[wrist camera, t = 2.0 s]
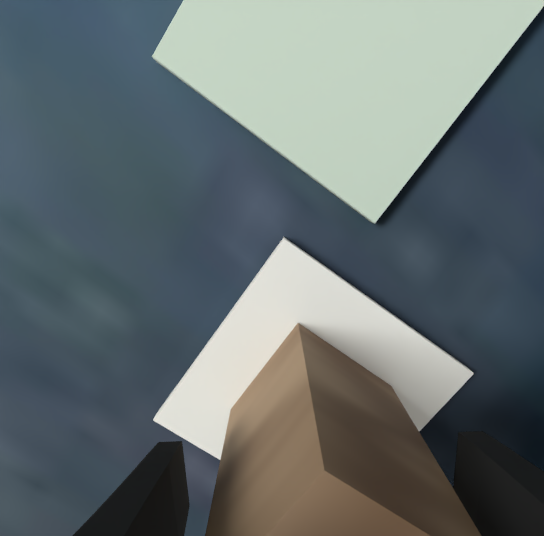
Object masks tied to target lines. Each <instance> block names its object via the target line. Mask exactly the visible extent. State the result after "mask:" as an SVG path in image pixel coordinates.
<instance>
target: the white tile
mask: <svg viewBox="0 0 544 536" xmlns="http://www.w3.org/2000/svg"><path fill="white" fill-rule="evenodd" d="M297 323H299V324H301V325H302V326H304V327H305V328H307V329H308V330H310V331H311V332H313V333H314V334H315V335H317V336H318V337H320V338H321V339H323V340H324V341H326V342H327V343H329V344H330V345H332V346H333V347H335V348H336V349H338V350H339V351H341V352H342V353H344V354H345V355H347V356H348V357H349V358H351V359H352V360H354V361H355V362H357V363H358V364H360V365H361V366H363V367H364V368H366V369H367V370H369V371H370V372H372V373H373V374H375V375H376V376H378V377H379V378H381V379H382V380H383V381H385V382H386V383H388V384H389V385H391V386H392V388H393V389H394V391H395V393H396V394H397V396H398V398H399V399H400V401H401V403H402V404H403V406H404V408H405V409H406V411H407V413H408V414H409V416H410V418H411V419H412V421H413V423H414V424H415V426H416V428H417V429H418V431H420V430H421V429H422V428H423V427H424V426H425V425H426V424H427V423H428V422H429V421H430V420H431V419H432V418H433V417H434V416H435V414H436V413H437V412H438V411H439V410H440V409H441V408H442V407H443V406H444V405H445V404H446V403H447V402H448V401H449V400H450V399H451V397H452V396H453V395H454V394H455V393H456V392H457V391H458V390H459V389H460V388H461V387H462V386H463V385H464V384H465V383H466V381H467V380H468V379H469V378H470V377H471V376H472V375H473V374H474V373H473V372H472V371H471V370H470V369H469V368H468V367H466V366H465V365H463V364H462V363H460V362H459V361H458V360H456V359H455V358H453V357H452V356H451V355H449V354H448V353H446V352H445V351H444V350H442V349H441V348H439V347H438V346H437V345H435V344H434V343H432V342H431V341H430V340H428V339H427V338H425V337H424V336H423V335H421V334H420V333H418V332H417V331H416V330H414V329H413V328H411V327H410V326H408V325H407V324H406V323H404V322H403V321H401V320H400V319H399V318H397V317H396V316H394V315H393V314H392V313H390V312H389V311H387V310H386V309H385V308H383V307H382V306H380V305H379V304H378V303H376V302H375V301H373V300H372V299H371V298H369V297H368V296H366V295H365V294H364V293H362V292H361V291H359V290H358V289H356V288H355V287H354V286H352V285H351V284H349V283H348V282H347V281H345V280H344V279H342V278H341V277H340V276H338V275H337V274H335V273H334V272H333V271H331V270H330V269H328V268H327V267H326V266H324V265H323V264H321V263H320V262H319V261H317V260H316V259H314V258H313V257H312V256H310V255H309V254H307V253H306V252H304V251H303V250H302V249H300V248H299V247H297V246H296V245H295V244H293V243H292V242H290V241H289V240H288V239H286V238H285V237H284V238H283V239H282V240H281V242H280V243H279V244H278V246H277V247H276V249H275V250H274V251H273V253H272V254H271V256H270V257H269V258H268V260H267V261H266V263H265V264H264V265H263V267H262V268H261V269H260V271H259V272H258V274H257V275H256V276H255V278H254V279H253V281H252V282H251V283H250V285H249V286H248V287H247V289H246V290H245V292H244V293H243V294H242V296H241V297H240V299H239V300H238V301H237V303H236V304H235V305H234V307H233V308H232V310H231V311H230V312H229V314H228V315H227V317H226V318H225V319H224V321H223V322H222V323H221V325H220V326H219V328H218V329H217V330H216V332H215V333H214V335H213V336H212V337H211V339H210V340H209V341H208V343H207V344H206V346H205V347H204V348H203V350H202V351H201V353H200V354H199V355H198V357H197V358H196V359H195V361H194V362H193V364H192V365H191V366H190V368H189V369H188V371H187V372H186V373H185V375H184V376H183V378H182V379H181V380H180V382H179V383H178V384H177V386H176V387H175V389H174V390H173V391H172V393H171V394H170V396H169V397H168V398H167V400H166V401H165V402H164V404H163V405H162V407H161V408H160V409H159V411H158V412H157V414H156V416H155V417H154V419H153V420H154V421H155V422H157V423H159V424H160V425H162V426H164V427H165V428H167V429H169V430H170V431H172V432H174V433H175V434H177V435H179V436H181V437H182V438H184V439H186V440H187V441H189V442H191V443H192V444H194V445H196V446H197V447H199V448H201V449H202V450H204V451H206V452H208V453H209V454H211V455H213V456H214V457H216V458H218V459H219V460H221V455H222V450H223V445H224V440H225V435H226V430H227V425H228V420H229V415H230V410H231V408H232V407H233V406H234V404H235V403H236V402H237V400H238V399H239V398H240V397H241V395H242V394H243V393H244V391H245V390H246V389H247V388H248V386H249V385H250V384H251V382H252V381H253V380H254V379H255V377H256V376H257V375H258V373H259V372H260V371H261V370H262V368H263V367H264V366H265V364H266V363H267V362H268V361H269V359H270V358H271V357H272V355H273V354H274V353H275V352H276V350H277V349H278V348H279V346H280V345H281V344H282V343H283V341H284V340H285V339H286V337H287V336H288V335H289V334H290V332H291V331H292V330H293V328H294V327H295V326H296V325H297Z"/></svg>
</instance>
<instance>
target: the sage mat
mask: <svg viewBox="0 0 544 536" xmlns="http://www.w3.org/2000/svg"><path fill="white" fill-rule="evenodd" d="M543 6H544V0H183V2H182V4H181V6H180V8H179V9H178V11H177V13H176V15H175V16H174V18H173V20H172V22H171V24H170V25H169V27H168V29H167V31H166V33H165V34H164V36H163V38H162V40H161V41H160V43H159V45H158V47H157V49H156V50H155V52H154V54H153V56H152V57H153V58H154V59H155V60H156V62H158V63H159V64H160V65H162V66H163V67H164V68H166V69H167V70H168V71H170V72H171V73H172V74H174V75H175V76H176V77H178V78H179V79H180V80H182V81H183V82H184V83H186V84H187V85H188V86H190V87H191V88H192V89H194V90H195V91H196V92H198V93H199V94H200V95H202V96H203V97H204V98H206V99H207V100H208V101H210V102H211V103H212V104H214V105H215V106H216V107H218V108H219V109H220V110H222V111H223V112H224V113H226V114H227V115H228V116H230V117H231V118H232V119H234V120H235V121H236V122H238V123H239V124H240V125H242V126H243V127H244V128H246V129H247V130H248V131H250V132H251V133H252V134H254V135H255V136H256V137H258V138H259V139H260V140H262V141H263V142H264V143H266V144H267V145H269V146H270V147H271V148H273V149H274V150H275V151H277V152H278V153H279V154H281V155H282V156H283V157H285V158H286V159H287V160H289V161H290V162H291V163H293V164H294V165H295V166H297V167H298V168H299V169H301V170H302V171H303V172H305V173H306V174H307V175H309V176H310V177H311V178H313V179H314V180H315V181H317V182H318V183H319V184H321V185H322V186H323V187H325V188H326V189H327V190H329V191H330V192H331V193H333V194H334V195H335V196H337V197H338V198H339V199H341V200H342V201H343V202H345V203H346V204H347V205H349V206H350V207H351V208H353V209H354V210H355V211H357V212H358V213H359V214H361V215H362V216H363V217H365V218H366V219H367V220H369V221H370V222H372V223H376V221H377V220H378V219H379V217H380V216H381V215H382V214H383V212H384V211H385V210H386V208H387V207H388V206H389V205H390V203H391V202H392V201H393V199H394V198H395V197H396V196H397V194H398V193H399V192H400V190H401V189H402V188H403V187H404V185H405V184H406V183H407V181H408V180H409V179H410V178H411V176H412V175H413V174H414V172H415V171H416V170H417V169H418V167H419V166H420V165H421V163H422V162H423V161H424V160H425V158H426V157H427V156H428V154H429V153H430V152H431V151H432V149H433V148H434V147H435V145H436V144H437V143H438V142H439V140H440V139H441V138H442V136H443V135H444V134H445V132H446V131H447V130H448V129H449V127H450V126H451V125H452V123H453V122H454V121H455V120H456V118H457V117H458V116H459V114H460V113H461V112H462V111H463V109H464V108H465V107H466V105H467V104H468V103H469V102H470V100H471V99H472V98H473V96H474V95H475V94H476V93H477V91H478V90H479V89H480V87H481V86H482V85H483V84H484V82H485V81H486V80H487V78H488V77H489V76H490V75H491V73H492V72H493V71H494V69H495V68H496V67H497V66H498V64H499V63H500V62H501V60H502V59H503V58H504V57H505V55H506V54H507V53H508V51H509V50H510V49H511V48H512V46H513V45H514V44H515V42H516V41H517V40H518V39H519V37H520V36H521V35H522V33H523V32H524V31H525V30H526V28H527V27H528V26H529V24H530V23H531V22H532V21H533V19H534V18H535V17H536V15H537V14H538V13H539V12H540V10H541V9H542V8H543Z"/></svg>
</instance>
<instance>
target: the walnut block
mask: <svg viewBox="0 0 544 536" xmlns="http://www.w3.org/2000/svg"><path fill="white" fill-rule="evenodd" d="M205 536H481V534H480V532H479V531H478V529H477V527H476V526H475V524H474V522H473V521H472V519H471V517H470V516H469V514H468V512H467V511H466V509H465V508H464V506H463V504H462V503H461V501H460V499H459V498H458V496H457V494H456V493H455V491H454V489H453V488H452V486H451V484H450V483H449V481H448V479H447V478H446V476H445V474H444V473H443V471H442V469H441V468H440V466H439V464H438V463H437V461H436V459H435V458H434V456H433V454H432V453H431V451H430V449H429V448H428V446H427V444H426V443H425V441H424V439H423V438H422V436H421V434H420V433H419V431H418V429H417V428H416V426H415V424H414V423H413V421H412V419H411V418H410V416H409V414H408V413H407V411H406V409H405V408H404V406H403V404H402V403H401V401H400V399H399V398H398V396H397V394H396V393H395V391H394V389H393V388H392V386H391V385H389V384H388V383H386V382H385V381H383V380H382V379H381V378H379V377H378V376H376V375H375V374H373V373H372V372H370V371H369V370H367V369H366V368H364V367H363V366H361V365H360V364H358V363H357V362H355V361H354V360H352V359H351V358H349V357H348V356H347V355H345V354H344V353H342V352H341V351H339V350H338V349H336V348H335V347H333V346H332V345H330V344H329V343H327V342H326V341H324V340H323V339H321V338H320V337H318V336H317V335H315V334H314V333H313V332H311V331H310V330H308V329H307V328H305V327H304V326H302V325H301V324H299V323H297V325H296V326H295V327H294V328H293V330H292V331H291V332H290V334H289V335H288V336H287V337H286V339H285V340H284V341H283V343H282V344H281V345H280V346H279V348H278V349H277V350H276V352H275V353H274V354H273V355H272V357H271V358H270V359H269V361H268V362H267V363H266V364H265V366H264V367H263V368H262V370H261V371H260V372H259V373H258V375H257V376H256V377H255V379H254V380H253V381H252V382H251V384H250V385H249V386H248V388H247V389H246V390H245V391H244V393H243V394H242V395H241V397H240V398H239V399H238V400H237V402H236V403H235V404H234V406H233V407H232V408H231V410H230V415H229V420H228V425H227V430H226V435H225V440H224V445H223V450H222V455H221V460H220V465H219V470H218V475H217V480H216V485H215V490H214V495H213V500H212V505H211V510H210V515H209V520H208V524H207V529H206V534H205Z"/></svg>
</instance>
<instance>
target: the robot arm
mask: <svg viewBox="0 0 544 536" xmlns="http://www.w3.org/2000/svg"><path fill="white" fill-rule="evenodd" d="M453 489H454V491H455V493H456V494H457V496H458V498H459V499H460V501H461V503H462V504H463V506H464V508H465V509H466V511H467V512H468V514H469V516H470V517H471V519H472V521H473V522H474V524H475V526H476V527H477V529H478V531H479V532H480V534H481V536H544V472H543V471H542V470H540V469H539V468H538V467H536V466H535V465H533V464H532V463H530V462H529V461H527V460H526V459H524V458H523V457H521V456H520V455H518V454H517V453H515V452H514V451H512V450H511V449H509V448H508V447H506V446H505V445H503V444H502V443H500V442H499V441H497V440H496V439H494V438H493V437H491V436H489V435H488V434H486V433H484V432H483V431H473V432H458V443H457V454H456V464H455V475H454V486H453ZM188 511H189V497H188V489H187V480H186V472H185V463H184V455H183V446H182V441H176V442H159V443H158V444H157V445H156V446H155V447H154V448H153V449H152V450H151V451H150V452H149V453H148V454H147V455H146V457H145V458H144V459H143V460H142V461H141V462H140V463H139V465H138V466H137V467H136V468H135V469H134V470H133V471H132V472H131V474H130V475H129V476H128V477H127V478H126V479H125V480H124V481H123V482H122V484H121V485H120V486H119V487H118V488H117V489H116V490H115V491H114V492H113V493H112V495H111V496H110V497H109V498H108V499H107V500H106V501H105V502H104V503H103V504H102V505H101V506H100V508H99V509H98V510H97V511H96V512H95V513H94V514H93V515H92V516H91V517H90V518H89V519H88V520H87V521H86V522H85V523H84V524H83V526H82V527H81V528H80V529H79V530H78V531H77V532H76V533H75V534H74V535H73V536H184V532H185V527H186V522H187V516H188Z"/></svg>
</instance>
